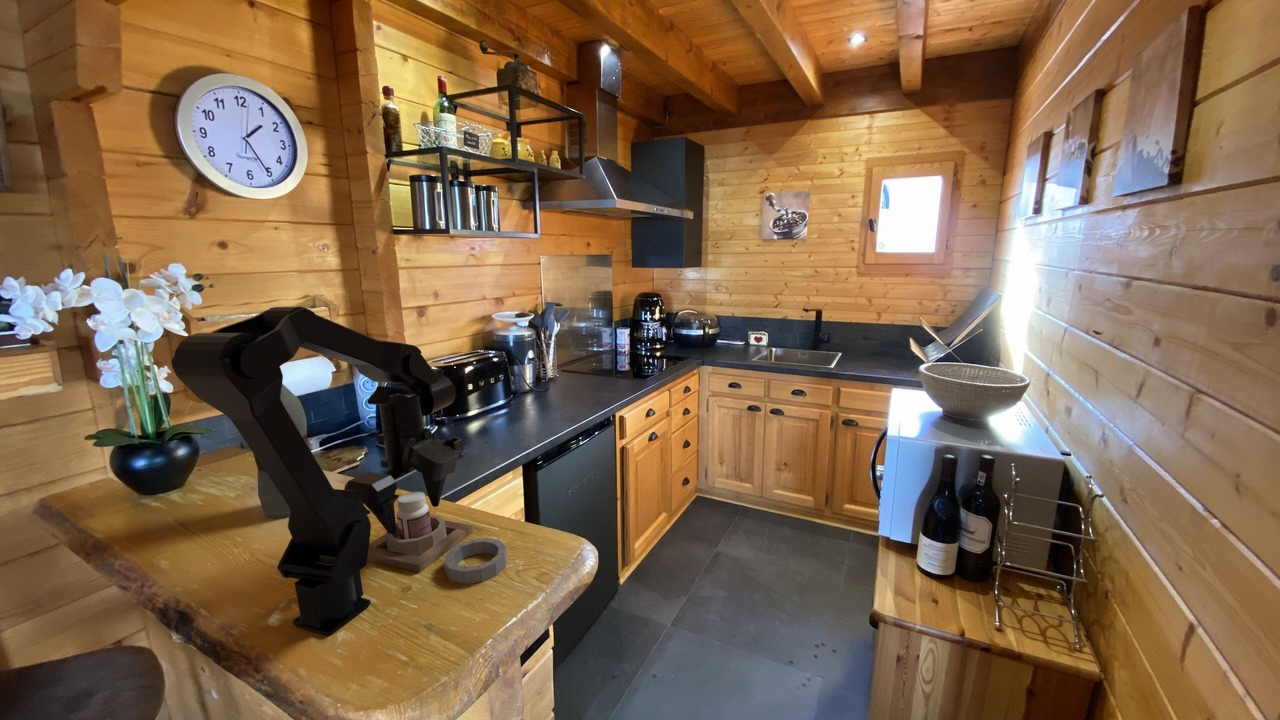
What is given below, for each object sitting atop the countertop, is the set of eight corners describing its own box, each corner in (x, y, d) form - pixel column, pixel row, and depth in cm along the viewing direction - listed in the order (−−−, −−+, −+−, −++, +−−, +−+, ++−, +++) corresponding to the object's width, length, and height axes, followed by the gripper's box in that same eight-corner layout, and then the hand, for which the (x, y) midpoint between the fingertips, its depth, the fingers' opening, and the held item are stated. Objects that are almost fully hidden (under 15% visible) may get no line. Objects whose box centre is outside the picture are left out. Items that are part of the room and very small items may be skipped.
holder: (482, 588, 73) (481, 575, 72) (433, 577, 76) (432, 564, 75) (517, 555, 81) (516, 543, 80) (471, 546, 84) (470, 534, 83)
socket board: (419, 572, 77) (417, 553, 76) (358, 558, 81) (355, 540, 81) (472, 532, 88) (471, 515, 87) (416, 521, 92) (414, 505, 92)
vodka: (329, 503, 100) (304, 348, 94) (275, 524, 93) (245, 357, 87) (305, 492, 105) (280, 344, 99) (252, 512, 98) (222, 353, 92)
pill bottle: (438, 537, 86) (433, 490, 85) (423, 554, 82) (417, 504, 80) (410, 537, 87) (405, 489, 85) (394, 553, 82) (388, 503, 81)
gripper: (396, 452, 69) (410, 560, 72) (484, 412, 86) (493, 500, 89) (334, 444, 73) (350, 546, 76) (430, 407, 90) (440, 491, 93)
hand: (414, 519), depth 84 cm, fingers open, 9 cm apart
